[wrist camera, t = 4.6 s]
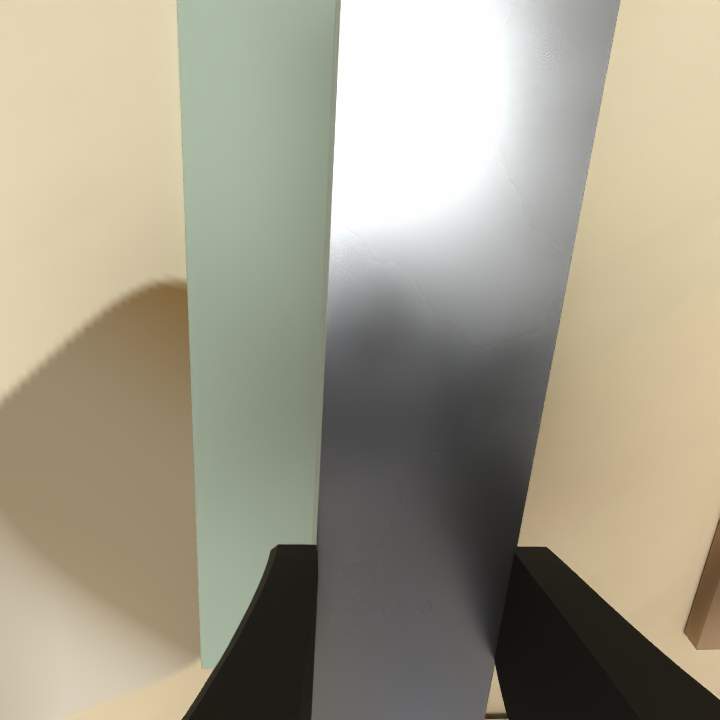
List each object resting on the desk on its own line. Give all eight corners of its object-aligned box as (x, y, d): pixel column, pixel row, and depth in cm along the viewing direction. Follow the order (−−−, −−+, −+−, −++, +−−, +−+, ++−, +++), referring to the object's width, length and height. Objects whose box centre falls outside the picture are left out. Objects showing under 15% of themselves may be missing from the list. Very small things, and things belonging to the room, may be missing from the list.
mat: (482, 654, 23) (485, 667, 23) (204, 654, 22) (201, 668, 22) (602, -44, 15) (612, -50, 15) (179, -82, 14) (173, -90, 14)
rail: (424, 817, 16) (450, 988, 13) (292, 821, 16) (286, 996, 13) (558, -52, 9) (682, -132, 6) (323, -73, 9) (328, -170, 6)
